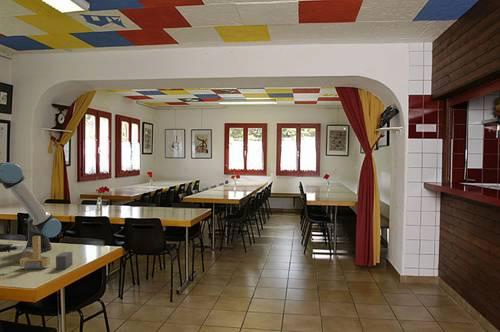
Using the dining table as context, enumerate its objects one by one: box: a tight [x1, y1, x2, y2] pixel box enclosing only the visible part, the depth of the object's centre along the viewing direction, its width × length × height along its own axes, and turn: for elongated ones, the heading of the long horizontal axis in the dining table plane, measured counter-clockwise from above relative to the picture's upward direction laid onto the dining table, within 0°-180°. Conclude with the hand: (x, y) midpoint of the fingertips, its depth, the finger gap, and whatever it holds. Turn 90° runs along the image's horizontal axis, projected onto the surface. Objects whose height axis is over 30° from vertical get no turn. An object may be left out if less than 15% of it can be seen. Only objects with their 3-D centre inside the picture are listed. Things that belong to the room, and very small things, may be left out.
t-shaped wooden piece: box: [19, 236, 51, 268], centre depth 212 cm, size 4×14×16 cm, turn 95°
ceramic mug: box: [20, 247, 33, 259], centre depth 228 cm, size 11×8×8 cm
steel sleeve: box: [23, 262, 46, 271], centre depth 212 cm, size 7×8×4 cm
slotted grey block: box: [55, 251, 73, 271], centre depth 214 cm, size 10×5×7 cm, turn 6°
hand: (23, 247), depth 212 cm, fingers closed
